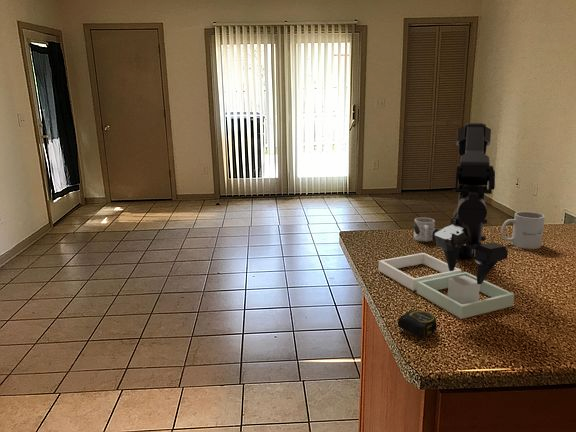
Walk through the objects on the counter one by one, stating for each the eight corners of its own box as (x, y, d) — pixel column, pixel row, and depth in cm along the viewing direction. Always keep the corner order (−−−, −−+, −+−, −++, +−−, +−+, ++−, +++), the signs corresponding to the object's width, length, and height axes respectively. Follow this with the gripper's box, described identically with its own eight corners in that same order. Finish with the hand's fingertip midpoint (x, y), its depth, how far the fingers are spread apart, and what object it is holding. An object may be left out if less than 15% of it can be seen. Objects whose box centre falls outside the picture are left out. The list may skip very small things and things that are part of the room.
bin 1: (423, 262, 141) (423, 252, 140) (461, 280, 127) (461, 270, 126) (378, 270, 135) (378, 260, 134) (413, 290, 121) (413, 279, 120)
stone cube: (463, 294, 119) (464, 275, 118) (478, 301, 115) (480, 282, 113) (447, 297, 117) (448, 278, 116) (462, 305, 113) (463, 285, 112)
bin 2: (464, 282, 126) (465, 271, 125) (512, 305, 112) (514, 294, 111) (416, 292, 120) (417, 281, 119) (461, 318, 106) (462, 306, 105)
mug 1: (412, 235, 167) (413, 217, 165) (432, 236, 166) (433, 217, 164) (415, 244, 157) (417, 225, 156) (436, 245, 156) (438, 225, 155)
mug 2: (538, 241, 158) (541, 212, 156) (543, 249, 150) (547, 219, 148) (498, 238, 162) (501, 210, 159) (500, 246, 154) (504, 216, 151)
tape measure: (395, 330, 102) (396, 314, 101) (417, 321, 106) (418, 306, 105) (420, 343, 96) (421, 327, 95) (442, 334, 100) (443, 317, 99)
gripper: (416, 209, 116) (412, 269, 120) (473, 228, 99) (467, 297, 103) (452, 204, 120) (448, 263, 124) (512, 222, 103) (505, 289, 107)
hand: (464, 277), depth 114 cm, fingers open, 9 cm apart
